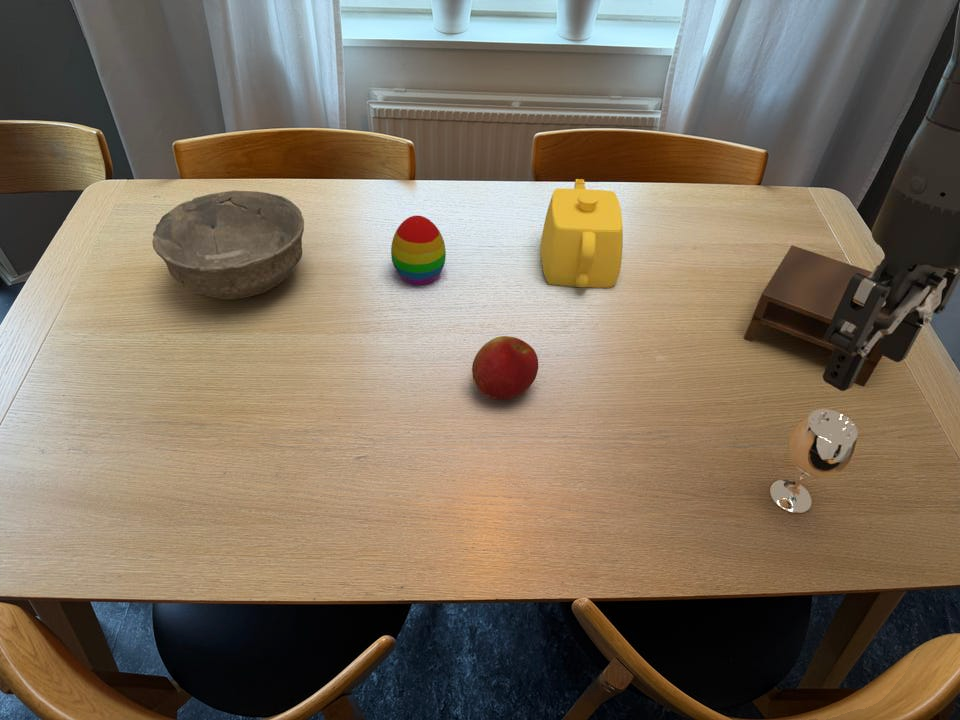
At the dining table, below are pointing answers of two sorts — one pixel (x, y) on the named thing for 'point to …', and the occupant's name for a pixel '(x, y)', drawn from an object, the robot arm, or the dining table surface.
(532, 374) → the apple
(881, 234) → the robot arm
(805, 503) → the wineglass
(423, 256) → the decorative egg
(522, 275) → the dining table surface
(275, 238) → the bowl
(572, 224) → the teapot
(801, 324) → the shelf
